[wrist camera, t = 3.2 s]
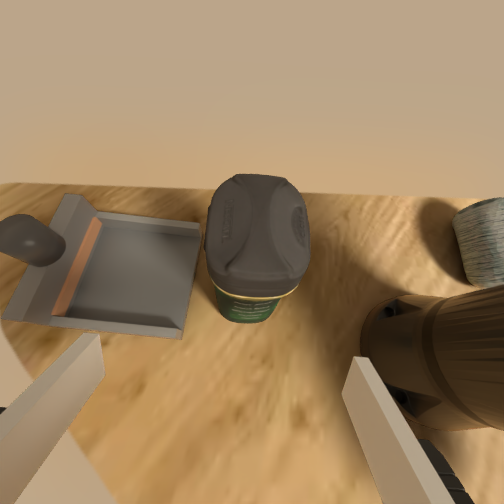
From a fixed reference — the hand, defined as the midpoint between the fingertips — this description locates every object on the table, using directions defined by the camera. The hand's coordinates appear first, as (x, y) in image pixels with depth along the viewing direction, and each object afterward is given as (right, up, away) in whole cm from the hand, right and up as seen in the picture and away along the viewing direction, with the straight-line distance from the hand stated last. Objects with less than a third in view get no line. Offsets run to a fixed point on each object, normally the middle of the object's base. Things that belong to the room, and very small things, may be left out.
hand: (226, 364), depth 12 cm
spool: (+36, +6, +25) cm, 45 cm away
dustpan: (-15, +3, +20) cm, 25 cm away
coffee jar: (+1, +1, +20) cm, 20 cm away
